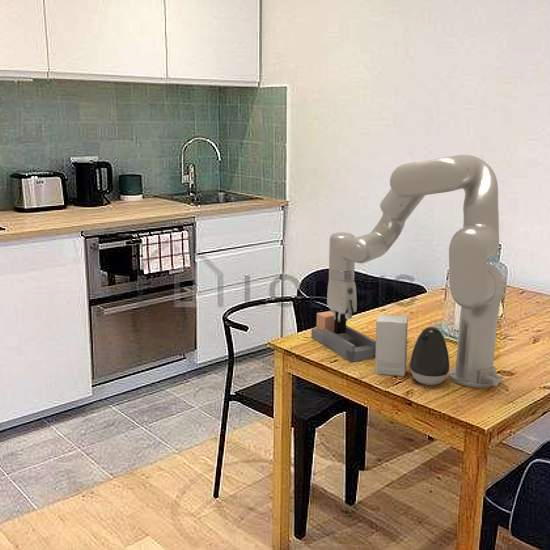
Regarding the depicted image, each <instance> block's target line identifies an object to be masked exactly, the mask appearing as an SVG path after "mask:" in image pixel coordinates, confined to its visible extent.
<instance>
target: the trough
mask: <svg viewBox="0 0 550 550" xmlns="http://www.w3.org/2000/svg"><path fill="white" fill-rule="evenodd" d="M310 334H311V339H313V340H315V341H317V342H318V343H319V344H321V345H323V346H324V347H326V348H328V349H329V350H330V351H332V352H334V353H335V354H337V355H338V356H341V357H342V358H343V359H345V360H347V361H348V362H350V363H356V362H360V361H366V360H371V359H376V339H372V338H371V337H370V336H367V335H365V334H363V333H361V332H360V331H358V330H356V329H354V328H352V327H350V326H348V325H347V324H346V333H342V334H336V333H335V332H331V331H329V330H327V329H323V332H322V331H320V330H319V329H317V328H316V327H313V328H311V333H310Z"/></svg>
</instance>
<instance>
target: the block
mask: <svg viewBox="0 0 550 550" xmlns="http://www.w3.org/2000/svg"><path fill="white" fill-rule="evenodd" d="M315 328H317V329H319V330H320V331H322V332H323V329H327V330H329V331H331V332H334V318H333V312H332V311H331V310H328V311H323V312H317V313H316V326H315Z"/></svg>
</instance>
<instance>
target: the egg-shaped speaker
mask: <svg viewBox="0 0 550 550" xmlns="http://www.w3.org/2000/svg"><path fill="white" fill-rule="evenodd" d="M449 356H450V355H449V349H448V347H447V343H446V339H445V336H444V335H443V333H442V331H441V330H440V329H439V328H437V327H435V326H428V327H425V328H424V329H423V330H422V331H421V332H420V333H419V335H418V337H417V339H416V341H415V344H414V346H413V349H412V352H411V357H410V361H409V369H410V371H411V374H412V375H411V376H412V377H413V378H414V379H415V381H417V382H418V383H419V384H422V385H426V386H435V385H440V384H441V383H442V382H444V381H445V379H446V378H447V376H448V374H449V371H450V357H449Z"/></svg>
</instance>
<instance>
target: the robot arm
mask: <svg viewBox="0 0 550 550" xmlns="http://www.w3.org/2000/svg"><path fill="white" fill-rule="evenodd" d="M389 185H390V190H389V191H388V192H387V193H386V194H385V196H384V198H382V200H381V201H380V203H379V207H380V210H381V212H382V216H381V217H380V219H379V221H378V222H377V223H376V225H375V226H374V228H373V229H372V230H371V232H370V233H367V234H364V235H361V236H357V237H355V235H354V234H353V233H350V232H335V233H332V234H331V235H330V237H329V253H328V255H329V261H328V282H327V283H328V284H327V294H326V298H327V299H326V304H327V306H328V308H329V311H331V312H333V318H334V332H335V333H336V334H342V333H346V325H347V321H348V320H349V319H352V318H353V315H352V313H356V312H357V309H358V308H357V305H358V304H357V302H358V301H357V300H358V299H357V285H356V282H355V266H356V265H355V264H356V263H357V264H366V263H368V262H370V261H373V260H376V259H378V258H380V257H382V256H384V255H385V254H386V253H387V252H388V251H389V250H390V248H391V247H392V246H393V244H394V243H396V241H397V239H399V236H400V235H401V233H402V231H403V229H404V227H405V225H406V221H407V220H408V218H409V217H410V216H411V214H412V213H413V212H414V211H415V210H416V208H417V207H418V205H419V204H420V203H421V201H422V200H423V199H424V198H425V197H426V196H428V195H435V194H444V193H451V192H455V191H458V190H463V191H464V200H463V206H462V209H463V210H462V211H463V226H462V228H460V229H459V230H458V231H456V232H455V233H454V234H453V236H452V237H451V240H450V243H449V246H448V267H449V268H448V269H449V270H448V273H449V274H448V276H449V290H450V295H451V297H452V299H453V301H454V302H455V303H456V304H457V305H458V306H460V312H459V321H458V322H459V323H458V324H459V325H458V332H457V333H458V334H457V335H458V336H457V347H456V348H457V349H456V360H455V367H452V368H451V369H449V372H448V377H449V378H450V380H451V381H453V382H454V383H456V384H459V385H461V386H465V387H469V388H475V389H476V388H478V389H479V388H480V389H485V388H490V387H495V386H498V385H499V383H500V382H501V381H502V379H503V377H502V376H501V375H499V374H496V373H497V367H496V366H494V360H495V349H496V340H497V339H496V338H497V330H498V320H499V313H500V308H501V307H500V306H501V301H502V296H503V291H504V278H503V275H502V272H501V271H500V269H499V268H498V267H496V266H495V265H494V264H491V263H488V261H489V260H488V259H490V258H491V257H492V256H494V255H495V254H496V253H497V252H498V250H499V246H500V224H499V223H500V220H499V219H500V217H499V213H500V212H499V185H498V180H497V177H496V174H495V172H494V170H493V169H492V167H491V165H489V163H487V162H486V161H485V160H483V159H481V158H480V157H477V156H475V155H470V154H457V155H451V156H447V157H446V156H445V157H441V158H435V159H430V160H423V161H418V162H409V163H404V164H401V165H398V166H397V167H396V168H395V169H394V170H393V171H392V173H391V175H390V178H389Z"/></svg>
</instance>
